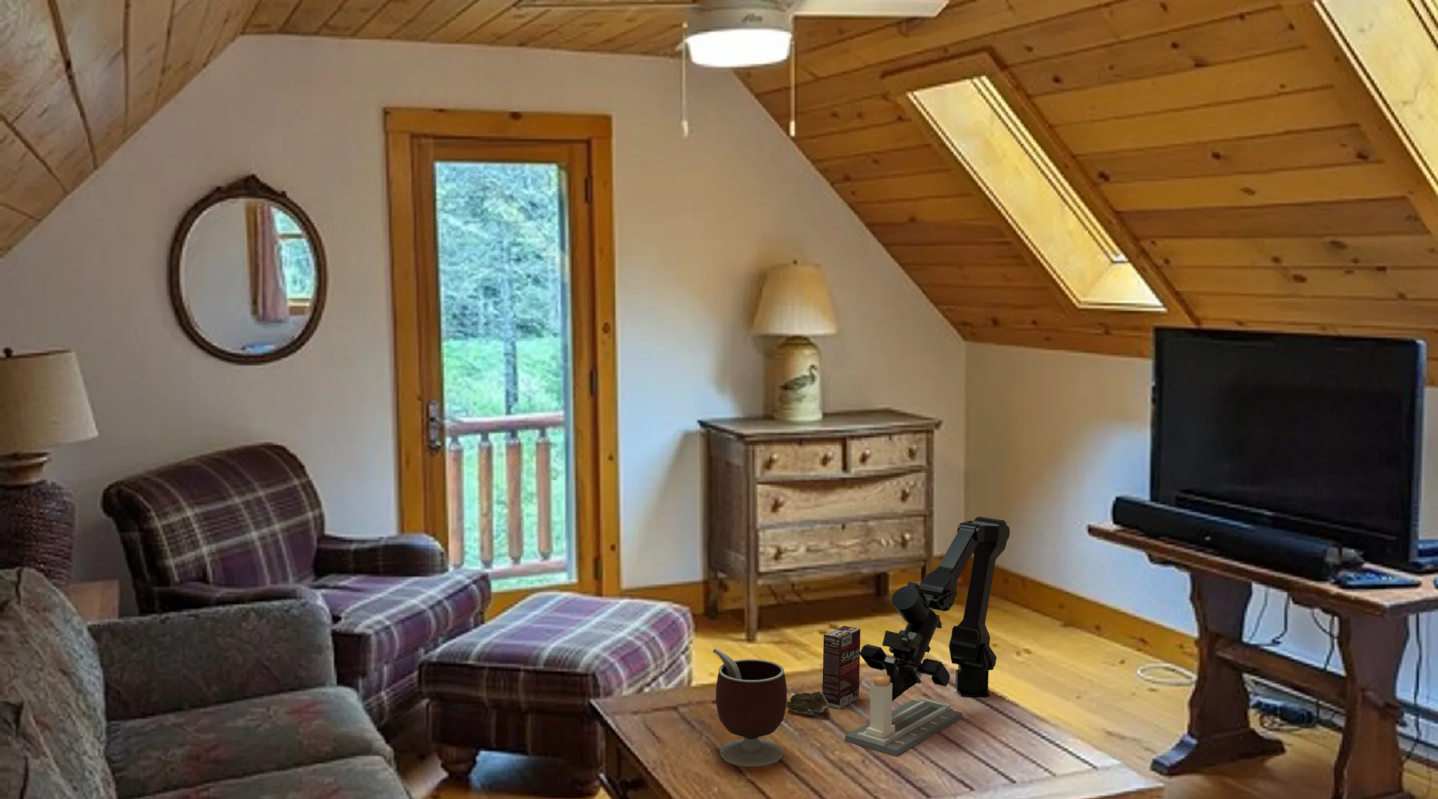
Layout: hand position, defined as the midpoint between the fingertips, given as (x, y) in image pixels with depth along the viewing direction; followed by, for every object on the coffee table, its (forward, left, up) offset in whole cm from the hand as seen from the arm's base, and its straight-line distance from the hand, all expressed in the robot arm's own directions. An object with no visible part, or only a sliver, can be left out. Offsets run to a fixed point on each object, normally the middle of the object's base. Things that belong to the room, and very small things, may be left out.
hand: (888, 701), depth 251 cm
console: (-4, -5, -8) cm, 10 cm away
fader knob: (+2, +2, -7) cm, 7 cm away
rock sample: (+15, -15, -8) cm, 23 cm away
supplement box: (+7, -21, -8) cm, 24 cm away
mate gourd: (+28, +7, -8) cm, 30 cm away
